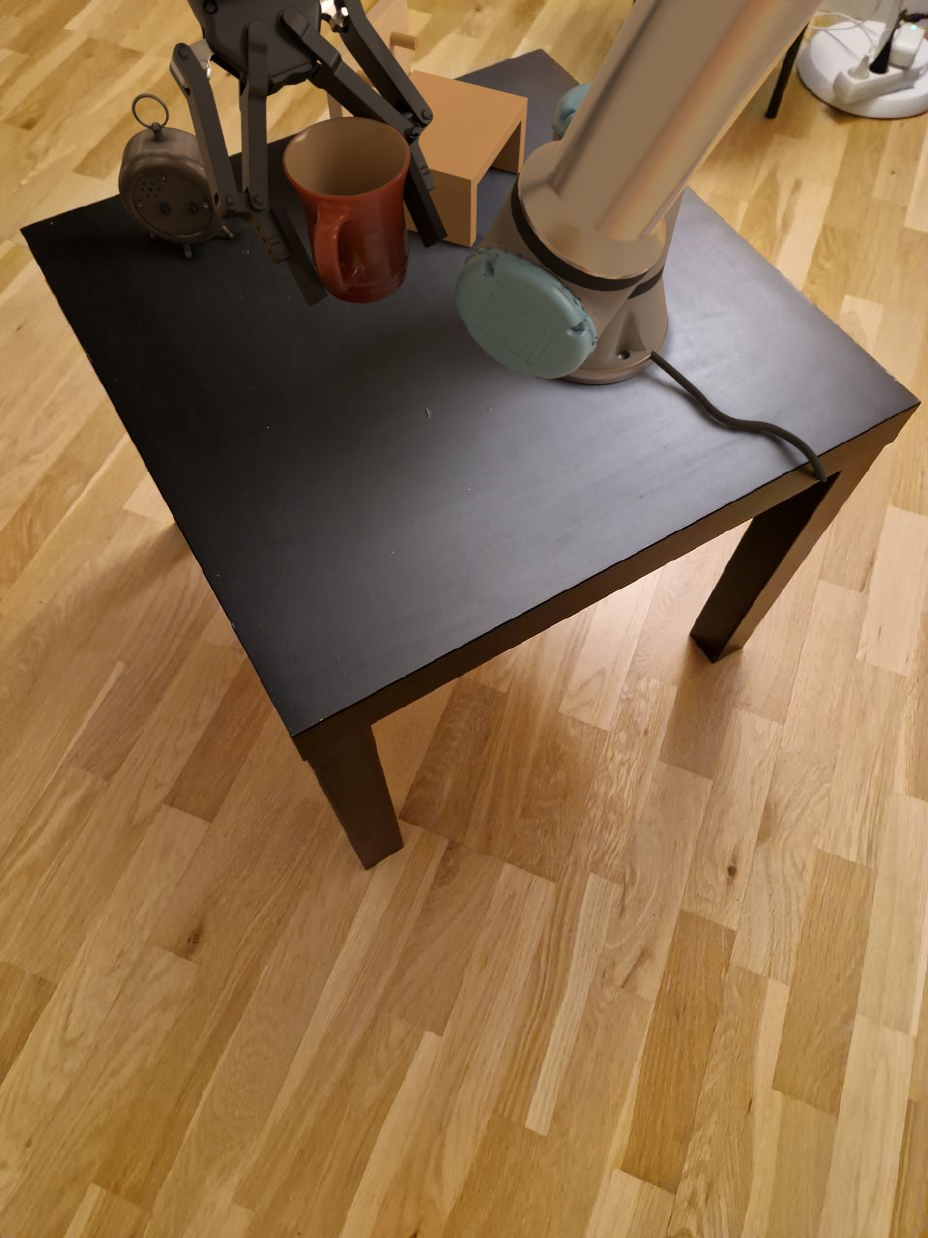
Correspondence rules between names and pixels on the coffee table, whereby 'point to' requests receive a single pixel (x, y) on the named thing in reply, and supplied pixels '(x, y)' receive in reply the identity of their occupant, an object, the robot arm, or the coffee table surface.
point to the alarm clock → (168, 184)
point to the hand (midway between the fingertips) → (379, 271)
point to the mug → (353, 204)
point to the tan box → (450, 126)
